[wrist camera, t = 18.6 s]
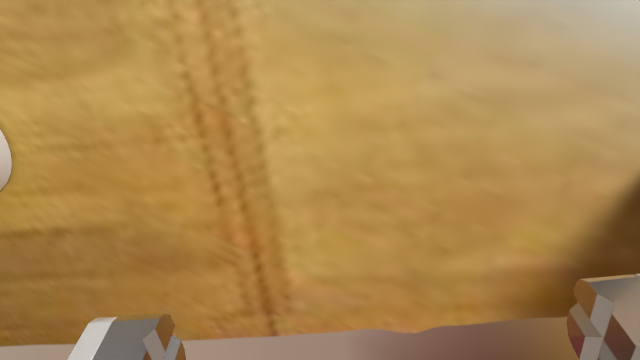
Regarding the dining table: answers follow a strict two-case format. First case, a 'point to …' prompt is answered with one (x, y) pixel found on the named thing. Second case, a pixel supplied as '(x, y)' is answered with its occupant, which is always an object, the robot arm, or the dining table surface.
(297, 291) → the dining table surface
